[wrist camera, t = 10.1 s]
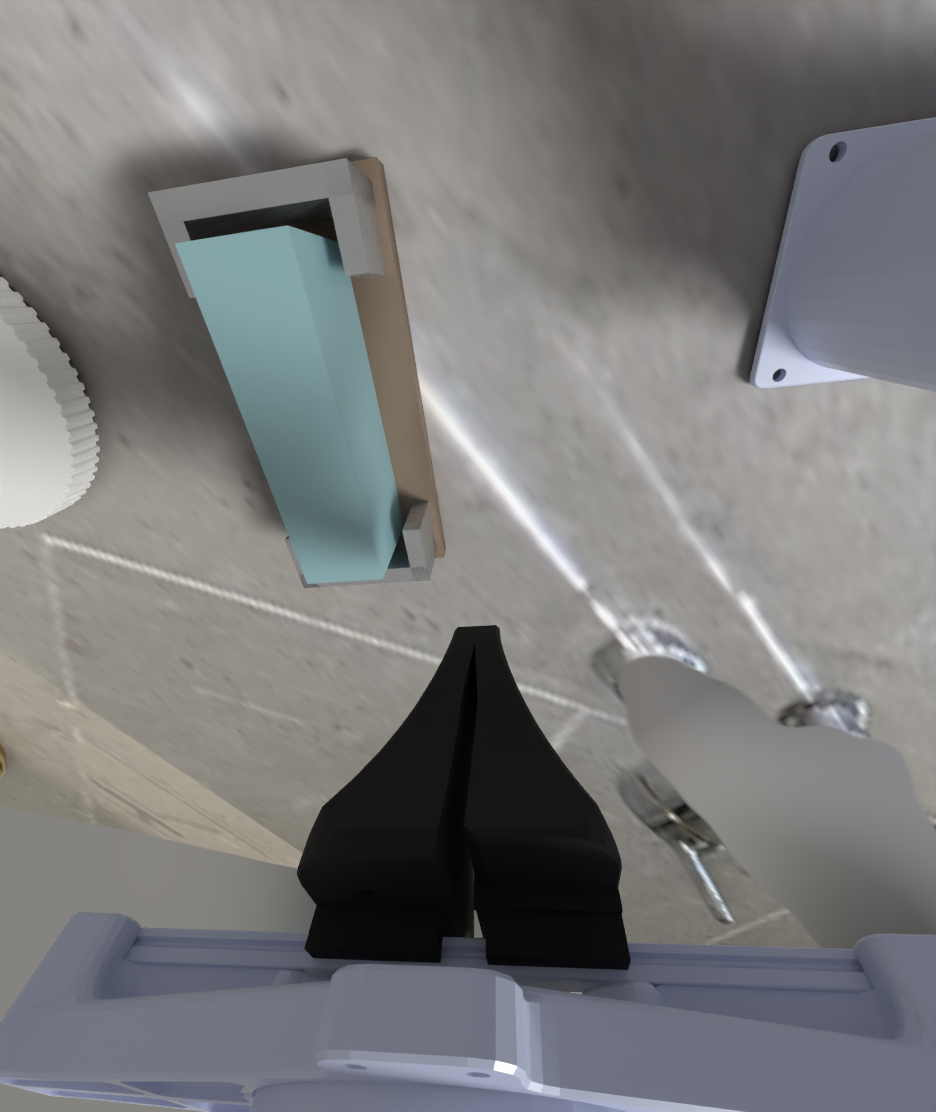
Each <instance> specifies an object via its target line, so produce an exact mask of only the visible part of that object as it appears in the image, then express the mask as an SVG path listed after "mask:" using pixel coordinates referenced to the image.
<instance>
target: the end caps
mask: <svg viewBox="0 0 936 1112" xmlns="http://www.w3.org/2000/svg"><path fill="white" fill-rule="evenodd" d="M147 193H148V195H149V198H150V200H151V203H152V205H153V208H154V210H155V213H156V215H157V218H158V220H159V223H160V225H161V228H162V230H163V233H164V235H165V238H166V240H167V243H168V246H169V248H170V251H171V253H172V256H173V258H174V261H175V263H176V266H177V268H178V271H179V273H180V276H181V278H182V281H183V283H184V286H185V288H186V291H187V294H188V296H189V298H196V297H195V294H194V292H193V289H192V287H191V284H190V282H189V279H188V276H187V274H186V271H185V269H184V266H183V264H182V261H181V258H180V256H179V253H178V251H177V248H176V246H175V243H180V242H186V241H193V240H199V239H205V238H212V237H218V236H224V235H230V234H234V233H237V232H243V231H249V230H256V229H262V228H268V227H275V226H281V225H287V224H294V223H300V222H307V221H313V220H319V219H326V218H332V217H333V221H334V225H335V230H336V234H337V239H338V243H339V248H340V252H341V257H342V261H343V266H344V270H345V275H346V276H348V277H357V278H365V279H372V278H379V277H386V276H389V274H388V268H387V263H386V257H385V251H384V246H383V240H382V234H381V229H380V223H379V217H378V212H377V206H376V200H375V195H374V189H373V183H372V181H371V180H370V179H369V178H368V177H367V176H366V175H365V174H364V173H362V172H361V171H360V170H359V169H358V168H357V167H356V166H355V165H354V164H353V163H352V162H350V161H349V160H348V159H347V158H344V159H338V160H333V161H327V162H321V163H315V164H309V165H304V166H298V167H292V168H286V169H280V170H275V171H269V172H263V173H257V174H251V175H246V176H240V177H234V178H228V179H222V180H217V181H211V182H205V183H199V184H194V185H188V186H182V187H176V188H170V189H165V190H159V191H153V192H147ZM402 532H403V536H404V538H399V539H398V542H397V545H396V547H395V550H394V552H393V555H392V557H391V560H390V562H389V565H388V568H387V570H386V573H385V575H384V578H383V579H378V580H362V581H346V582H330V583H314V584H307V582H306V579H305V577H304V574H303V572H302V569H301V566H300V564H299V561H298V559H297V556H296V554H295V551H294V548H293V546H292V543H291V541H290V538H289V536H287V538H286V539H285V541H286V544H287V546H288V549H289V551H290V554H291V556H292V559H293V561H294V564H295V566H296V569H297V571H298V574H299V576H300V579H301V581H302V584H303V587H304V588H310V587H326V586H343V585H359V584H376V583H392V582H409V581H425V580H430V576H431V572H432V568H433V563H434V559H435V554H436V550H437V546H436V540H435V535H434V529H433V523H432V518H431V512H430V506H429V501H427V502H415V503H413V505H412V507H411V510H410V512H409V515H408V517H407V520H406V523H405V525H404V528H403V530H402Z"/></svg>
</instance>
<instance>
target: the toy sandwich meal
mask: <svg viewBox="0 0 936 1112" xmlns="http://www.w3.org/2000/svg"><path fill="white" fill-rule="evenodd" d="M5 770H6V753H5V750H4V748H3V746H2V745H1V743H0V778H1V777H2V776H3V775H4V773H5Z"/></svg>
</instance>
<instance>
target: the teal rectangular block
mask: <svg viewBox="0 0 936 1112" xmlns="http://www.w3.org/2000/svg"><path fill="white" fill-rule="evenodd" d="M175 246H176V248H177V251H178V253H179V256H180V258H181V261H182V264H183V266H184V269H185V271H186V274H187V276H188V279H189V282H190V284H191V287H192V289H193V292H194V294H195V297H196V300H197V302H198V305H199V307H200V310H201V312H202V315H203V317H204V320H205V323H206V325H207V328H208V330H209V333H210V335H211V338H212V341H213V343H214V346H215V348H216V351H217V353H218V356H219V359H220V361H221V364H222V366H223V369H224V371H225V374H226V377H227V379H228V382H229V384H230V387H231V389H232V392H233V394H234V397H235V400H236V402H237V405H238V407H239V410H240V412H241V415H242V418H243V420H244V423H245V425H246V428H247V430H248V433H249V436H250V438H251V441H252V443H253V446H254V448H255V451H256V453H257V456H258V459H259V461H260V464H261V466H262V469H263V471H264V474H265V477H266V479H267V482H268V484H269V487H270V489H271V492H272V495H273V497H274V500H275V502H276V505H277V507H278V510H279V513H280V515H281V518H282V520H283V523H284V525H285V528H286V530H287V533H288V536H289V538H290V541H291V543H292V546H293V548H294V551H295V554H296V556H297V559H298V561H299V564H300V566H301V569H302V572H303V574H304V577H305V579H306V582H307V584H314V583H330V582H346V581H362V580H378V579H383V578H384V575H385V573H386V570H387V568H388V565H389V562H390V560H391V557H392V555H393V552H394V550H395V547H396V545H397V542H398V539H399V537H400V534H401V532H402V529H403V527H404V520H403V516H402V511H401V507H400V502H399V497H398V493H397V488H396V484H395V479H394V475H393V470H392V465H391V461H390V456H389V452H388V447H387V442H386V438H385V433H384V429H383V424H382V420H381V415H380V410H379V406H378V401H377V397H376V392H375V387H374V383H373V378H372V374H371V369H370V364H369V360H368V355H367V351H366V346H365V342H364V337H363V332H362V328H361V323H360V319H359V314H358V309H357V305H356V300H355V296H354V291H353V287H352V282H351V277H348V276H346V275H345V270H344V266H343V261H342V257H341V252H340V248H339V243H338V242H336V241H333V240H330V239H327V238H324V237H321V236H318V235H315V234H312V233H309V232H306V231H303V230H300V229H297V228H294V227H291V226H288V225H287V226H281V227H275V228H268V229H262V230H256V231H249V232H243V233H237V234H230V235H224V236H218V237H212V238H205V239H199V240H193V241H186V242H180V243H175Z"/></svg>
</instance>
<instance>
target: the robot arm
mask: <svg viewBox="0 0 936 1112" xmlns="http://www.w3.org/2000/svg"><path fill="white" fill-rule="evenodd" d="M834 145H837V147H838V148H839V154H838V156H837V158H836V160H835V161H834V162H831V161H830V159H829V153H830V151H831V149H832V147H833V146H834ZM778 369H781V374H780V375H779V377H778V378H777V379H775V380H773V374H774V372H775V371H777V370H778ZM864 378H876V379H880V380H885V381H889V382H894V383H898V384H903V385H907V386H912V387H916V388H921V389H925V390H930V391H934V392H936V117H933V118H926V119H920V120H914V121H908V122H901V123H895V124H889V125H882V126H876V127H870V128H864V129H857V130H851V131H845V132H838V133H832V134H826V135H823V136H821V137H818V138H816V139H814V140H813V141H812V142H810V143H809V144H808V145H807V146H806V148H805V149H804V151H803V152H802V155H801V157H800V160H799V164H798V169H797V173H796V178H795V182H794V186H793V191H792V195H791V199H790V204H789V208H788V213H787V217H786V221H785V226H784V230H783V235H782V239H781V243H780V248H779V252H778V256H777V261H776V265H775V270H774V274H773V278H772V283H771V287H770V291H769V296H768V300H767V305H766V309H765V313H764V318H763V322H762V327H761V331H760V335H759V340H758V344H757V348H756V353H755V357H754V362H753V366H752V370H751V375H750V382H751V384H752V385H753V386H754V387H757V388H761V389H765V388H775V387H785V386H795V385H805V384H815V383H825V382H834V381H844V380H854V379H864ZM621 869H622V865H621V858H620V855H619V852H618V849H617V846H616V843H615V840H614V838H613V836H612V833H611V831H610V829H609V827H608V825H607V823H606V821H605V819H604V817H603V815H602V813H601V811H600V809H599V807H598V805H597V804H596V802H595V801H594V800H593V799H592V798H591V797H590V795H589V794H588V793H587V792H586V791H585V790H584V788H583V787H582V786H581V785H580V783H579V782H578V781H577V780H576V779H575V777H574V776H573V775H572V773H571V772H570V771H569V769H568V768H567V767H566V766H565V764H564V763H563V762H562V760H561V759H560V757H559V756H558V754H557V753H556V752H555V750H554V749H553V747H552V746H551V744H550V743H549V742H548V740H547V739H546V737H545V736H544V734H543V732H542V731H541V729H540V728H539V726H538V724H537V723H536V721H535V719H534V718H533V716H532V714H531V712H530V711H529V709H528V707H527V705H526V703H525V701H524V699H523V697H522V695H521V693H520V691H519V689H518V687H517V685H516V682H515V680H514V678H513V676H512V673H511V671H510V668H509V666H508V663H507V660H506V657H505V654H504V651H503V648H502V644H501V639H500V629H499V627H497V626H496V625H492V626H472V627H458V628H457V629H456V630H455V632H454V635H453V638H452V640H451V643H450V645H449V647H448V649H447V651H446V654H445V656H444V658H443V660H442V662H441V664H440V665H439V667H438V669H437V671H436V673H435V675H434V677H433V678H432V680H431V682H430V683H429V685H428V687H427V688H426V690H425V692H424V693H423V695H422V696H421V698H420V700H419V701H418V703H417V704H416V706H415V707H414V709H413V710H412V711H411V713H410V714H409V716H408V717H407V718H406V720H405V721H404V722H403V724H402V725H401V726H400V727H399V729H398V730H397V731H396V732H395V734H394V735H393V736H392V737H391V739H390V740H389V741H388V742H387V743H386V745H385V746H384V747H383V748H382V749H381V750H380V751H379V752H378V754H377V755H376V756H375V757H374V758H373V759H372V760H371V761H370V762H369V763H368V764H367V765H366V766H365V767H364V768H363V769H362V770H361V771H360V772H359V773H358V774H357V775H356V776H355V777H354V778H353V779H352V780H351V781H350V782H349V783H348V784H347V785H346V786H345V787H344V788H343V789H341V790H340V791H339V792H338V793H337V794H336V795H335V796H334V797H333V798H332V799H330V800H329V801H328V802H327V803H326V804H325V805H324V806H323V807H322V808H321V810H320V813H319V815H318V817H317V819H316V821H315V823H314V825H313V828H312V830H311V832H310V834H309V837H308V840H307V843H306V846H305V849H304V851H303V854H302V857H301V860H300V863H299V866H298V871H297V876H298V878H299V880H300V883H301V884H302V886H303V888H304V889H305V890H306V891H307V893H308V894H309V895H310V897H311V898H312V899H313V901H314V902H315V904H316V905H317V906H316V910H315V913H314V917H313V920H312V923H311V927H310V930H309V933H303V932H302V933H301V932H271V931H237V930H205V929H172V928H141V926H140V924H139V923H138V922H137V921H135V920H134V919H132V918H130V917H128V916H126V915H122V914H116V913H91V912H90V913H89V912H78V913H76V914H74V915H73V916H72V917H71V919H70V920H69V922H68V923H67V924H66V926H65V927H64V929H63V930H62V932H61V933H60V935H59V936H58V938H57V939H56V941H55V942H54V944H53V945H52V947H51V948H50V950H49V951H48V952H47V954H46V956H45V957H44V958H43V960H42V961H41V963H40V964H39V966H38V967H37V969H36V970H35V972H34V973H33V975H32V976H31V978H30V979H29V980H28V982H27V983H26V985H25V987H24V988H23V989H22V991H21V992H20V994H19V995H18V997H17V998H16V1000H15V1001H14V1003H13V1004H12V1006H11V1007H10V1008H9V1010H8V1011H7V1013H6V1014H5V1016H4V1017H3V1019H2V1021H1V1022H0V1083H2V1084H6V1085H9V1086H13V1087H18V1088H21V1089H25V1090H30V1091H33V1092H37V1093H41V1094H45V1095H49V1096H59V1097H71V1098H83V1099H93V1100H103V1101H114V1102H124V1103H134V1104H142V1105H151V1106H160V1107H168V1108H177V1109H186V1110H195V1111H203V1112H936V935H912V934H874V935H870V936H866V937H864V938H862V939H860V940H859V941H858V942H857V944H856V945H855V947H854V949H827V948H795V947H762V946H729V945H696V944H664V943H631V942H627V939H626V934H625V929H624V924H623V919H622V904H621V899H620V894H619V889H618V886H619V880H620V875H621ZM474 910H476V911H477V915H478V919H479V923H480V927H481V931H482V935H483V938H474ZM569 992H583V993H582V994H575V993H569Z"/></svg>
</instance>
